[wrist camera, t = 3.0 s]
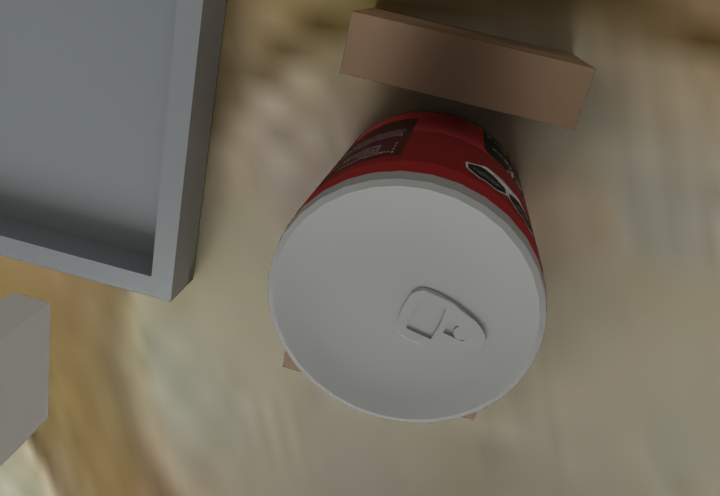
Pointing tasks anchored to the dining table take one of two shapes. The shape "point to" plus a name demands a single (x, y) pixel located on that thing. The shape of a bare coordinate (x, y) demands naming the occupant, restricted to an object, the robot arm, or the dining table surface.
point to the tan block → (465, 70)
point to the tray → (107, 136)
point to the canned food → (413, 274)
